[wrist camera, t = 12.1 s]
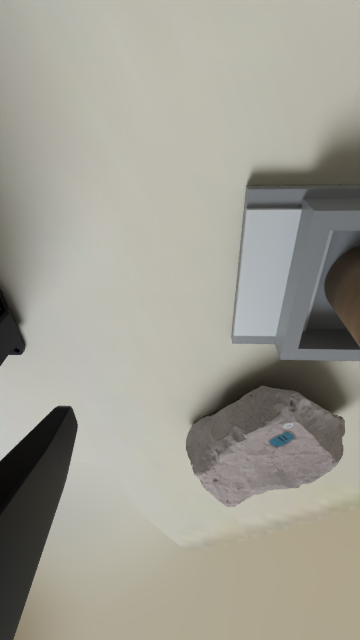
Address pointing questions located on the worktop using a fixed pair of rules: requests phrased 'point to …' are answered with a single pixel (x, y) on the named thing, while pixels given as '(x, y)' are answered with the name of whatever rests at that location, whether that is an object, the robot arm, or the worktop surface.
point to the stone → (264, 445)
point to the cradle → (294, 269)
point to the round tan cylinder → (346, 290)
